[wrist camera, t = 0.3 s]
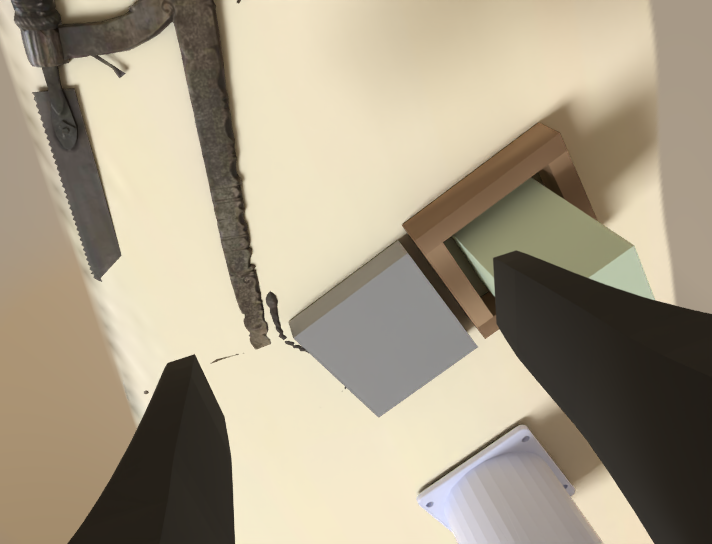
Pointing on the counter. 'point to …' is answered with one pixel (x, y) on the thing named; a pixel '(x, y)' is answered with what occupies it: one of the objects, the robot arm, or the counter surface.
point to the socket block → (478, 194)
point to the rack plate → (383, 331)
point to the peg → (551, 240)
